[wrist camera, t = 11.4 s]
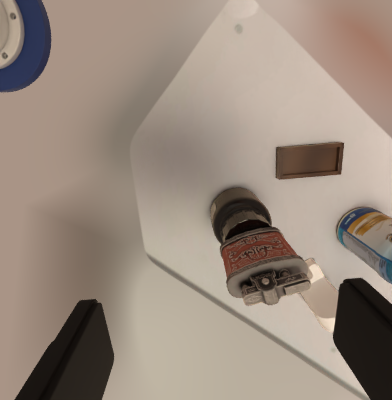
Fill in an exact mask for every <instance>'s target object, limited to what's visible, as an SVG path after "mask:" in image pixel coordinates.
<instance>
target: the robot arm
mask: <svg viewBox="0 0 392 400" xmlns="http://www.w3.org/2000/svg"><path fill="white" fill-rule="evenodd" d="M24 36H25V33H24V23H23V18H22V14H21V12H20V9H19V6H18V5H17V3H16V1H15V0H0V69H2V68H5V67H7V66H9V65H10V64H12V63H13V62H14V61H15V60H16V59H17V57H18V55H19V54H20V52H21V50H22V47H23V44H24ZM333 340H334V343H335V346H336V347H337V349H338V350H339V352H340V353H341V355H342V357H343V358H344V360H345V361H346V363H347V364H348V366H349V367H350V369H351V370H352V372H353V373H354V375H355V376H356V378H357V380H358V381H359V383H360V384H361V386H362V387H363V389H364V390H365V392H366V393H367V395H368V396H369V398H370V399H371V400H392V304H391V303H390V302H389V301H388V300H386V299H385V298H384V297H383V296H382V295H381V294H380V293H379V292H378V291H376V290H375V289H374V288H373V287H372V286H371V285H370V284H369V283H368V282H366V281H365V280H364V279H363V278H353V279H345V280H344V281H343V283H342V284H340V287H339V294H338V302H337V309H336V317H335V324H334V332H333ZM113 362H114V353H113V348H112V345H111V340H110V336H109V332H108V328H107V324H106V320H105V316H104V312H103V308H102V304H101V303H97V300H96V299H91V300H81V301H79V302H78V303H77V305H76V306H75V308H74V310H73V311H72V313H71V314H70V316H69V318H68V319H67V321H66V322H65V324H64V326H63V327H62V329H61V330H60V332H59V334H58V335H57V337H56V339H55V340H54V341H53V342H51V344H50V345H49V346H48V348H47V349H46V351H45V352H44V354H43V356H42V357H41V359H40V361H39V362H38V364H37V365H36V367H35V368H34V370H33V371H32V373H31V375H30V376H29V378H28V379H27V381H26V382H25V384H24V386H23V387H22V389H21V390H20V392H19V394H18V395H17V397H16V399H15V400H102V397H103V394H104V391H105V388H106V385H107V382H108V379H109V375H110V372H111V369H112V366H113Z"/></svg>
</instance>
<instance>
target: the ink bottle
mask: <svg viewBox="0 0 392 400" xmlns="http://www.w3.org/2000/svg"><path fill="white" fill-rule="evenodd" d="M211 222H212V227H213V231H214V234H215V236H216V238H217V240H218V241H219V242H220V243H221V244H222V243H223V242H225V241H226V240H228V239H230V238H232V237H234V236H237V235H239V234H242V233H245V232H248V231H252V230H256V229H260V228H268V227H272V221H271V216H270V214H269V212H268V210H267V208H266V207H265V206H264V205H263V203H262V202H261V201H260V200H259V199H258V198H257V197H256V195H255V194H253V193H252V192H251V191H249V190H247V189H244V188H232V189H228V190H226V191H224V192H222V193H221V194H220V195H219V196H218V197H217V198H216V199H215V200H214V202H213V204H212V207H211Z"/></svg>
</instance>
